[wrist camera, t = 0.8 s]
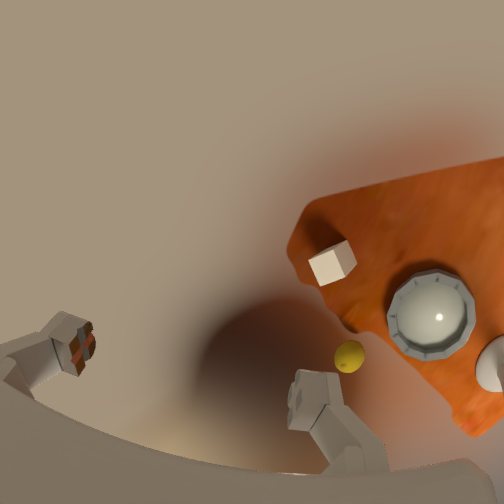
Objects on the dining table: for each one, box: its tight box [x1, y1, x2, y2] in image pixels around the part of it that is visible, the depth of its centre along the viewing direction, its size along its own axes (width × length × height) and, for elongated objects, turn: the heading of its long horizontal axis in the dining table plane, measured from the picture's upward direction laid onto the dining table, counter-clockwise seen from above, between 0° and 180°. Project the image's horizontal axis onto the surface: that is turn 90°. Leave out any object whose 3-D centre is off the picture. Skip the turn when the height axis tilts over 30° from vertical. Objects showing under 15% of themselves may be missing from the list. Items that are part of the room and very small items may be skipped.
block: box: [308, 240, 357, 286], centre depth 49 cm, size 5×5×8 cm
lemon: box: [334, 340, 365, 373], centre depth 51 cm, size 6×6×8 cm
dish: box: [387, 268, 476, 361], centre depth 43 cm, size 16×16×3 cm
